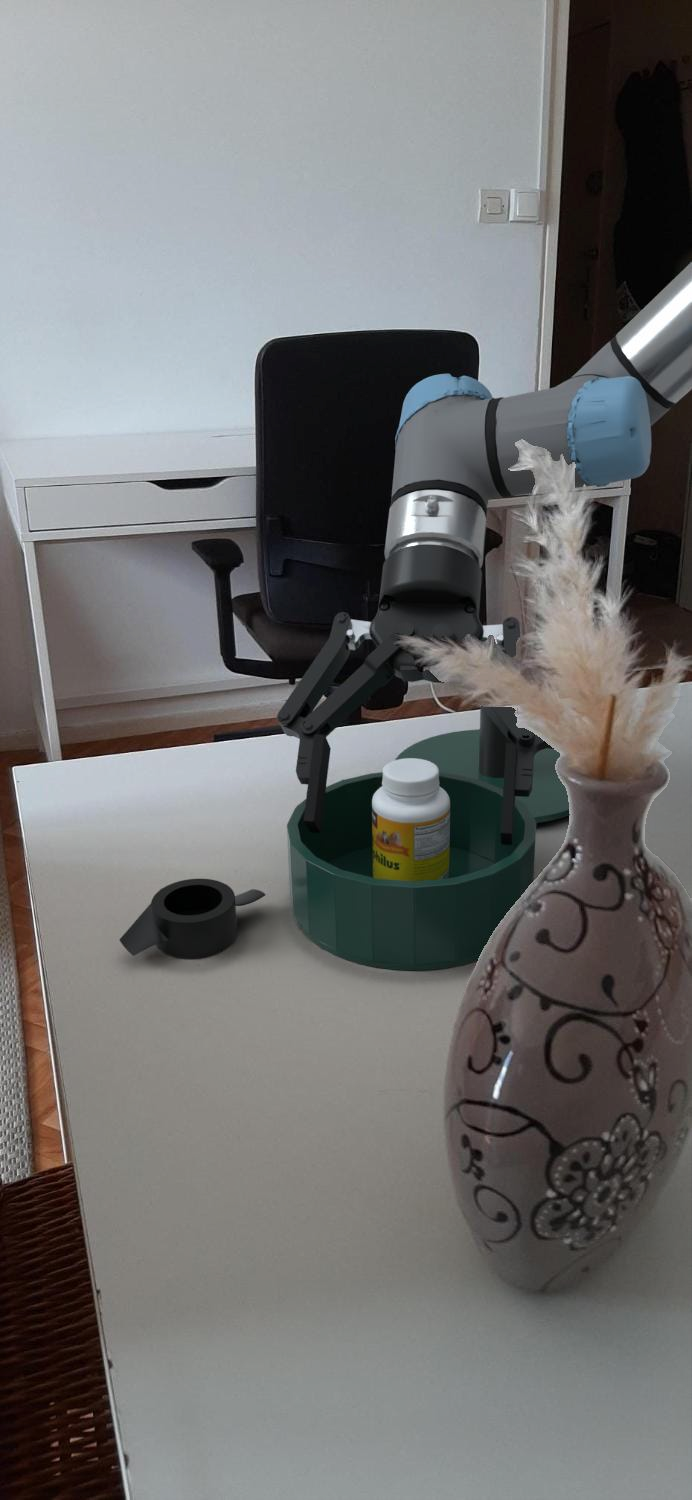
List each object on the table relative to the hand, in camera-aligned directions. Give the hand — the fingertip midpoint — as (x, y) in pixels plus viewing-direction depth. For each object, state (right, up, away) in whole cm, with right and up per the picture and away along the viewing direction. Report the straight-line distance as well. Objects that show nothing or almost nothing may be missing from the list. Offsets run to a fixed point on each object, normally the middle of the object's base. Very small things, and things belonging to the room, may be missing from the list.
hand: (407, 833), depth 80 cm
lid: (+9, +3, +23) cm, 25 cm away
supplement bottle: (0, -5, +5) cm, 7 cm away
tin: (+1, -5, +5) cm, 7 cm away
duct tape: (-15, -7, +1) cm, 17 cm away
